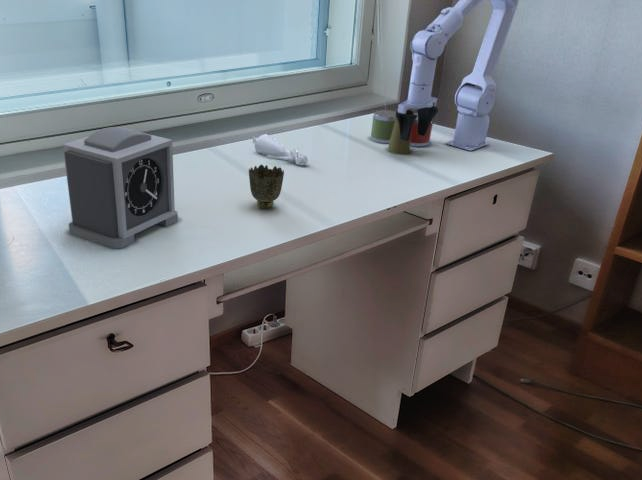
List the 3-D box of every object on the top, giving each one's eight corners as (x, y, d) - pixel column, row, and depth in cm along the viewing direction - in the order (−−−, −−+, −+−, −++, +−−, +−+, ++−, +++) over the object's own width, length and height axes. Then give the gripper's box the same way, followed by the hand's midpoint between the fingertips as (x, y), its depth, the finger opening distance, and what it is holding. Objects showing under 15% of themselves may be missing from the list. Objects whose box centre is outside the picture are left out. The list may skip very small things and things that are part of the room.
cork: (411, 154, 183) (418, 112, 177) (389, 153, 183) (394, 110, 177) (408, 147, 188) (414, 106, 182) (386, 146, 188) (392, 105, 182)
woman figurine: (272, 127, 182) (323, 148, 173) (271, 144, 185) (320, 165, 175) (240, 135, 175) (291, 157, 165) (239, 152, 178) (289, 175, 168)
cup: (286, 203, 149) (288, 167, 145) (275, 215, 143) (277, 177, 139) (254, 198, 151) (255, 162, 147) (242, 209, 145) (243, 172, 141)
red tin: (406, 137, 197) (410, 111, 193) (432, 141, 194) (436, 115, 190) (399, 143, 191) (403, 117, 187) (425, 148, 189) (429, 121, 185)
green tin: (392, 135, 198) (395, 110, 194) (400, 143, 191) (404, 117, 187) (367, 135, 196) (370, 110, 192) (374, 143, 190) (378, 117, 186)
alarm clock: (118, 250, 126) (109, 150, 116) (66, 232, 132) (53, 135, 121) (180, 219, 139) (177, 127, 129) (131, 204, 145) (124, 115, 135)
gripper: (417, 89, 167) (409, 145, 174) (450, 82, 176) (441, 136, 183) (394, 84, 171) (387, 139, 178) (427, 77, 180) (419, 130, 187)
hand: (413, 137), depth 181 cm, fingers open, 7 cm apart
